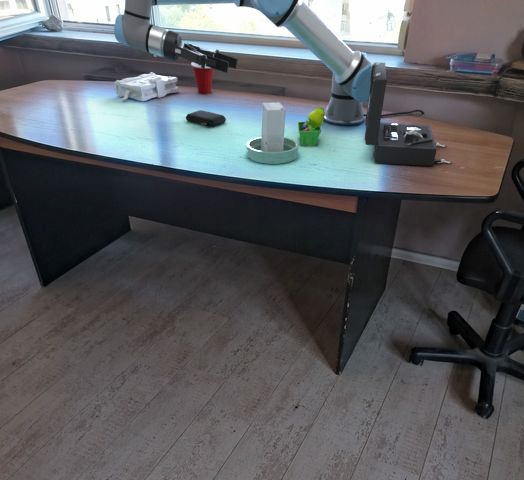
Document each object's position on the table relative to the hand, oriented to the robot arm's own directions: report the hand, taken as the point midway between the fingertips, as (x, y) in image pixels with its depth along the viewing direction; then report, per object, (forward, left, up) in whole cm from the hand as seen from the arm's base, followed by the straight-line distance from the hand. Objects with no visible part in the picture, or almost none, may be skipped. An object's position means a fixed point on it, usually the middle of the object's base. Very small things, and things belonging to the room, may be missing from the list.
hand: (232, 65), depth 147 cm
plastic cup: (+30, -76, -25) cm, 85 cm away
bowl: (-13, +5, -25) cm, 29 cm away
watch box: (-56, -6, -25) cm, 62 cm away
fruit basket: (-24, -12, -25) cm, 37 cm away
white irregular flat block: (+56, -66, -25) cm, 90 cm away
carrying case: (+18, -28, -25) cm, 41 cm away
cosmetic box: (-13, +5, -24) cm, 28 cm away
